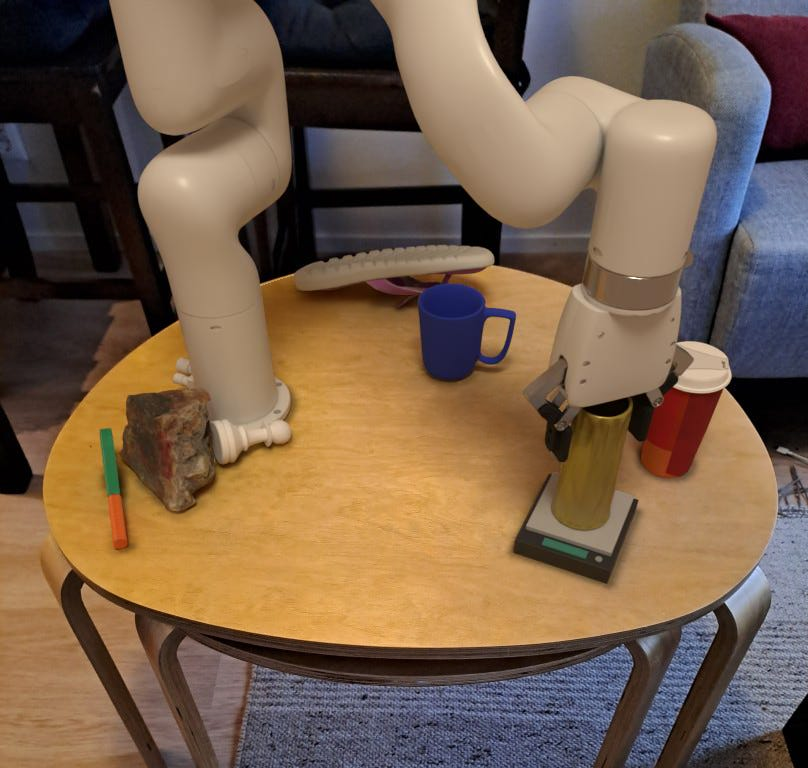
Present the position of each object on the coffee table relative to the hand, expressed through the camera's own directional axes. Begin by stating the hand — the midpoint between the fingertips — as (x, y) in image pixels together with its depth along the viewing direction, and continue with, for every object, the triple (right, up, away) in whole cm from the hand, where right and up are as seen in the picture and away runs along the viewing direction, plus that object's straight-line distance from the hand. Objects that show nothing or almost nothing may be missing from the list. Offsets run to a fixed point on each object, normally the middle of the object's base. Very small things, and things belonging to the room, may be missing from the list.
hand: (595, 442), depth 78 cm
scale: (0, -9, +8) cm, 12 cm away
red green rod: (-49, -3, +11) cm, 50 cm away
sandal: (-20, +31, +35) cm, 51 cm away
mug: (-11, +13, +28) cm, 33 cm away
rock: (-41, -1, +15) cm, 44 cm away
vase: (0, -6, +7) cm, 9 cm away
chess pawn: (-40, +2, +14) cm, 42 cm away
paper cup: (+12, 0, +16) cm, 20 cm away
